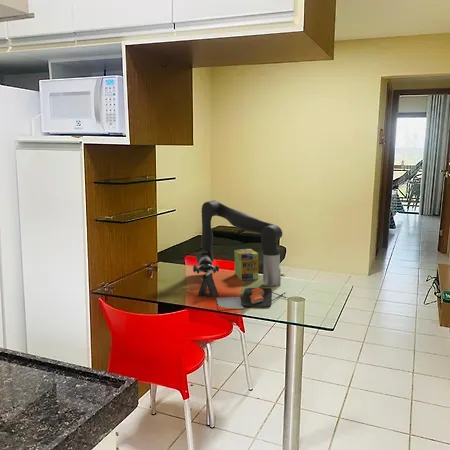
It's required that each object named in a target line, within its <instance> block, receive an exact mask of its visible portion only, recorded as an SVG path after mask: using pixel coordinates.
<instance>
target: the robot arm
mask: <svg viewBox="0 0 450 450" xmlns="http://www.w3.org/2000/svg"><path fill="white" fill-rule="evenodd" d="M215 216H216V217H220V218H223V219H225V220H226V221H228V223H229V224H230V225H232V226H233V227H235V228H237V229H240V230H243V231H245V232H246V231H248V232H253V233H258V234H260V245H261V250H262V283H263V284H262V285H263V286H267V287H278V286H281V276H282V275H281V273H282V271H281V266H280V262H281V259H280V256H281V254H280V253H281V251H280V249H279V248H278V246H277V241H278V240H280V239H281V238H282V236H283V230H282V229H281V227H280V226H279V225H277V224H274V223H271V222H268V221H263V220H261V219H258V218H256V217H254V216H251V215H249V214H247V213H245V212H242V211H239V210H237V209H234V208H231V207H229V206H228V205H226V204H223V203H222V202H220V201H217V200H210V201H209V200H208V201H206V202H205V201H204V202H203V204H202V206H201V240H200V248H201V249H202V250H204V251H199V252H197V253H196V256H195V259H196V263H197V264H198V265H196V264H193V268H192V271H193V273H197V274H200V273H204V274H206V273H208V272H209V273H210V272H212V274H215V273H216V272H219V271H220V270H219V269H220V266H219V264H215V265H213V262H214V254H213V242H214V241H213V240H214V233H213V230H212V220H213V217H215ZM205 251H206V252H205Z"/></svg>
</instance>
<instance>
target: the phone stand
mask: <svg viewBox="0 0 450 450" xmlns="http://www.w3.org/2000/svg"><path fill="white" fill-rule="evenodd" d="M213 274H214V273H213V272H210V271H209V272H207V273H204V274H203V275H202V282H201V284H200V287H199V291H198V294H197V297H199V296H205V297H204V298H208V297H213V298H212V299H214V298H216V297H217V296H218V295H219V293H218V289H217V287H216V286H217V285H216V284H215V281H214V279H213V277H214V276H213ZM207 289H208V292H207Z"/></svg>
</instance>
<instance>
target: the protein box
mask: <svg viewBox="0 0 450 450" xmlns="http://www.w3.org/2000/svg"><path fill="white" fill-rule="evenodd" d="M233 251H234V275H235V274H236V275H237V276H238V277H237V276H236V275H235V276H236V277H237V278H238V279H239V280H240V281H241V282H243V281H251V280H255V281H256V280H259V253H258V252H257V251H255V250H253V249H252V248H242V249H234V250H233Z"/></svg>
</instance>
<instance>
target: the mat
mask: <svg viewBox="0 0 450 450" xmlns="http://www.w3.org/2000/svg"><path fill="white" fill-rule="evenodd" d="M215 299H216V305H217V304H218V305H219V306H221V307H225V308H237V309H240V310H244V308H245V306H243V305H242V304H241V302H242V299H241V296H226V297H223V296H222V297H215ZM218 305H217V306H218Z"/></svg>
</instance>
